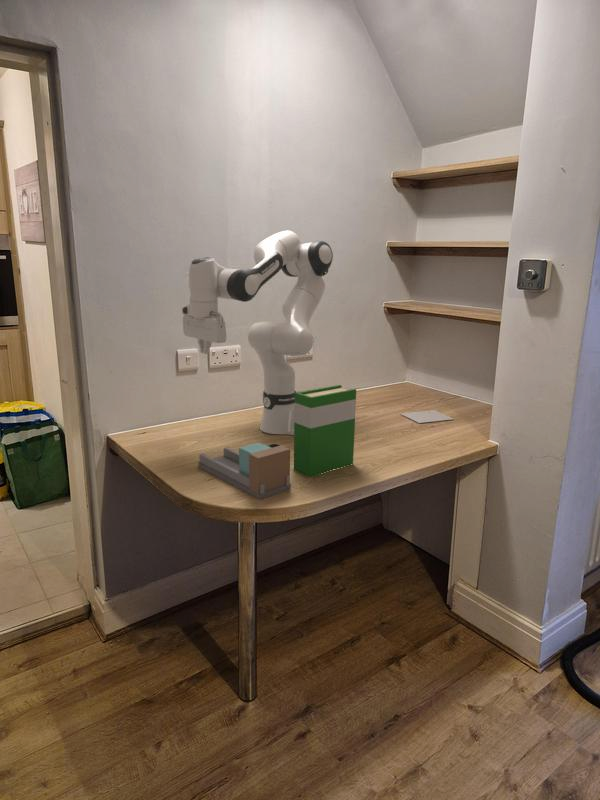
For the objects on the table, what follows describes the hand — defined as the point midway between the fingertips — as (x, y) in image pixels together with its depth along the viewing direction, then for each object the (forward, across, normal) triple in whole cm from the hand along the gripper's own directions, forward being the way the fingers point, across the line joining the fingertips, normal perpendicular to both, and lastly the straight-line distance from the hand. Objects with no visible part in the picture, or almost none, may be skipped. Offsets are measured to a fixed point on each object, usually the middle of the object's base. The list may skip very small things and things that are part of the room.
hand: (204, 353), depth 186 cm
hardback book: (+31, -40, -16) cm, 53 cm away
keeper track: (+31, -31, +8) cm, 45 cm away
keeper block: (+29, -38, +8) cm, 48 cm away
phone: (+32, -20, -10) cm, 39 cm away
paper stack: (+32, -30, -81) cm, 92 cm away
